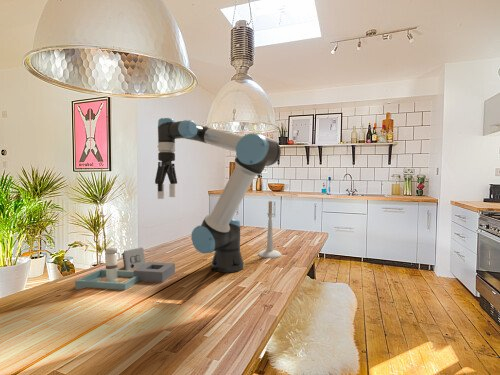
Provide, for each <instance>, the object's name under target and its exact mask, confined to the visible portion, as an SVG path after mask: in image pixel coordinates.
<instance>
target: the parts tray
mask: <svg viewBox="0 0 500 375" xmlns="http://www.w3.org/2000/svg"><path fill="white" fill-rule="evenodd" d="M117 277H125V278H126V277H127V278H130V279H128V280H127V281H125V282H118V281H117V282H106V281H103V280H102V279H104V278H106V268H105V269H104V268H103V269H102V268H100V269H97V270H95V271H93V272H91V273H89V274H87V275H85V276H83V277H80V278H78V279H75V281H74V284H75V286H74V287H75V290H83V289H84V288H92V289H94V288H95V289H108V290H120V291H121V290H123V291H125V290H128V289H129V288H131V286H133V285H135V284H136V283H138V282H139V281H138V276H135V277H134V270H123V269H121V270H120V269H117ZM101 280H102V281H101Z"/></svg>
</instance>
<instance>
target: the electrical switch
mask: <svg viewBox="0 0 500 375" xmlns="http://www.w3.org/2000/svg"><path fill="white" fill-rule="evenodd" d="M121 256H122V261H123V268H124V269H125V271H131V270H132V269H137V268H139V267H141V266H143V265H144V264H146V263H147V262H146V257H145V251H144V247H137V248H132V249H127V250H124V251H123V252H122V255H121Z"/></svg>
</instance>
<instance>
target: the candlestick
mask: <svg viewBox="0 0 500 375" xmlns="http://www.w3.org/2000/svg"><path fill="white" fill-rule="evenodd" d="M267 211H268V213H266V214H267V218H268V223H267V224H268V225H267V235H266V249H263V250H260V251H259V252H258V254H257V255H258V256H259V257H261V258H264V259H278V258H280V257H282V253H281V252H280V251H279V250H275V249H274V242H273V241H274V240H273V219H272V218H273V216H274V213H273V201H271V200H270V201H268V210H267Z"/></svg>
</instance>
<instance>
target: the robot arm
mask: <svg viewBox="0 0 500 375" xmlns="http://www.w3.org/2000/svg"><path fill="white" fill-rule="evenodd" d="M178 139H184V140H185V139H186V140H190V141H195V142H200V143H204V144H207V145H211V146H215V147H218V148H221V149H225V150H227V151H231V152H235V153H236V154H235V159H234V163H235V166H234V170H232V173H231V174H230V176H229V179H228V181H227V182H226V185H225V186H224V188H223V190H222V192H221V194H220V196H219V198H218V200H217V202H215V205H214V207H213V209H212V211H211V213H210V214H208V215H206V216H205V217H204V219H203V220H202V222H201V224H200V225H197V226H195V227H194V228H193V229H192V232H191V238H190V239H191V242H192V246H193V248H194V249H195V250H196V251H197V252H199V253H200V254H211V253H213V252H214V254H213V257H212V259H211V262H210V263H211V264H210V266H211V270H212V271H214V272H219V273H233V272H234V273H235V272H239V271H241V270H243V269H244V268H245V267H244V266H245V264H244V260H243V256H242V253H241V221H240V220H239V219H236V218H233V217H234V216H235V213H236V212H237V210H238V208H239V207H240V205H241V203H242V201H243V199H244V197H245V196H246V194H247V192H248V190H249V188H250V187H251V184H252V183H253V181H254V179H255V178H256V177H257V176H259V175H262V173H263V171H264V169H265V167H269V166H270V167H271V166H272V165H275V164H276V163H277V162H278V161H279V159H280V157H281V154H282V151H281V150H282V148H281V146H280V144H279V142H278V141H277V140H275V139H274V138H272V137H270V136H265V135H263V134H260V133H254V132H253V133H247V134H245V135H243V136H242V135H239V134H234V133H230V132H227V131H224V130H220V129H216V128H211V127H208V126H203V125H200V124H196V123H195V121H194V120H192V119H191V120H188V119H184V120H180V121H179V120H178V121H175V119H173V118H170V117H161V118H159V119H158V122H157V152H158V153H157V155H158V156H157V160H158V162H157V169H156V174H155V179H154V184H155V185H157V199H158V200H159V199H160V200H164V199H165V184H164V181H165V180H166V179H165V178H166V177H167V178H168V180H169V188H168V189H169V194H168V197H169V198H176V184H178V178H177V173H176V169H175V163H172V162H175V161H176V153H175V152H176V140H178Z"/></svg>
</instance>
